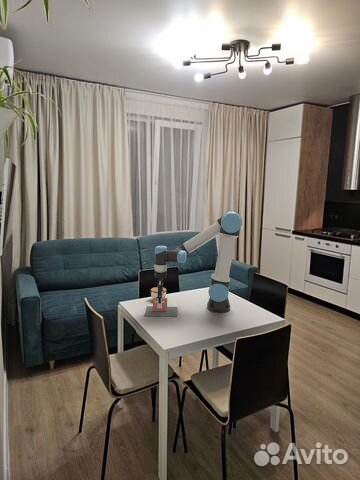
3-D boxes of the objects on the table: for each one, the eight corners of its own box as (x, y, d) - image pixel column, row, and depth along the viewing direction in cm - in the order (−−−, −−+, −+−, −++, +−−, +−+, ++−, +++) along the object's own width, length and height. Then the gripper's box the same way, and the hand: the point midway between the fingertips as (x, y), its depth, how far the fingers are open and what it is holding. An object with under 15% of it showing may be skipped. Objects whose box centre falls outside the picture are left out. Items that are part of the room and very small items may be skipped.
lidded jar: (169, 299, 227) (169, 286, 226) (160, 303, 218) (160, 290, 217) (156, 296, 233) (157, 283, 231) (147, 300, 224) (147, 287, 222)
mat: (177, 307, 212) (177, 306, 212) (177, 317, 196) (177, 316, 196) (146, 307, 211) (146, 306, 211) (144, 316, 196) (144, 315, 195)
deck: (152, 309, 206) (153, 297, 204) (167, 309, 206) (167, 297, 204) (152, 310, 203) (152, 298, 202) (167, 311, 203) (167, 298, 202)
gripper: (155, 266, 212) (155, 298, 216) (153, 275, 189) (152, 311, 192) (167, 266, 212) (166, 298, 216) (166, 275, 189) (165, 311, 192)
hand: (160, 304), depth 204 cm, fingers open, 11 cm apart
